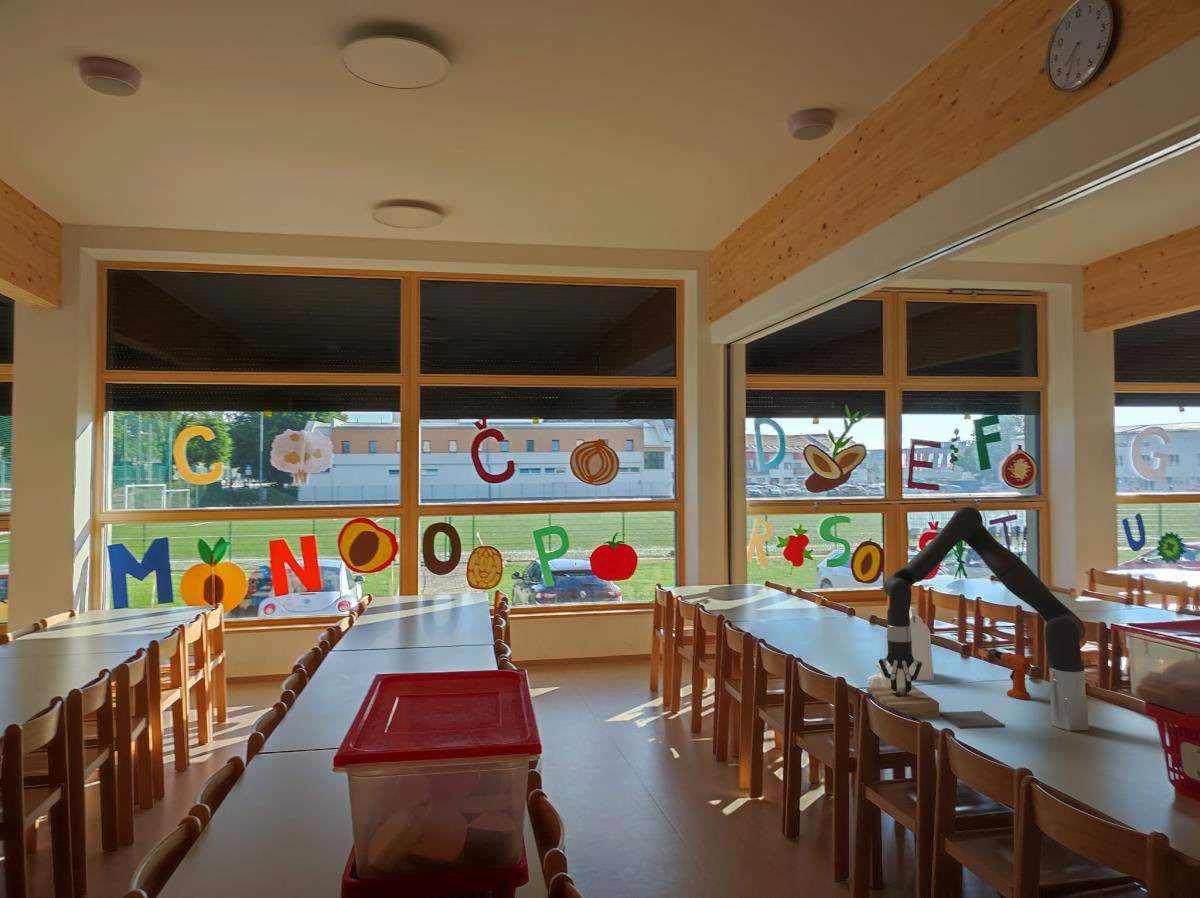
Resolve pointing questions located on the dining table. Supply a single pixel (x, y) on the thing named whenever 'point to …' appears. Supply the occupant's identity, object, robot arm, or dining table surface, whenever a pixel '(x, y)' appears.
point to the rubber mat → (971, 719)
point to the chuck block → (907, 701)
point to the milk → (921, 647)
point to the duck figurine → (879, 678)
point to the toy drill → (1015, 673)
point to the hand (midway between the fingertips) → (901, 691)
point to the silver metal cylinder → (901, 683)
